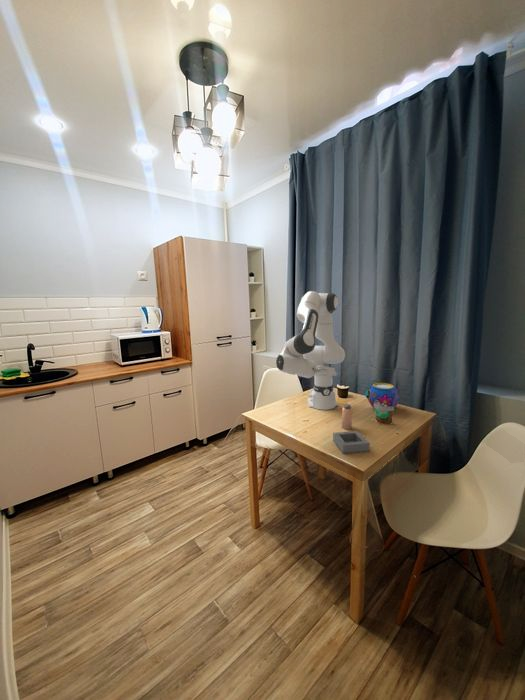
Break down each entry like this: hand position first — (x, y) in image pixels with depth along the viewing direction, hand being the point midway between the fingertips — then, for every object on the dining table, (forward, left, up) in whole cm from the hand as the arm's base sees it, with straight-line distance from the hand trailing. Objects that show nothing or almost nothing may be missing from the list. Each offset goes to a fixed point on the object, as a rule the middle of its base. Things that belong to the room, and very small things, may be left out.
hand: (329, 374), depth 139 cm
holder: (+19, +3, -29) cm, 35 cm away
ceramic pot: (-19, +40, -30) cm, 53 cm away
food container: (-3, +30, -30) cm, 42 cm away
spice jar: (+1, +9, -29) cm, 31 cm away
